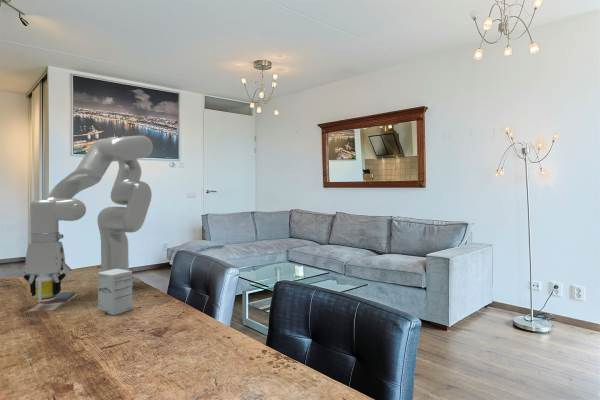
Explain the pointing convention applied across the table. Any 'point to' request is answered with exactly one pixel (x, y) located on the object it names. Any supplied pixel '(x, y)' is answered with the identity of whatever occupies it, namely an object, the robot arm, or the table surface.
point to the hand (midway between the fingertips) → (45, 293)
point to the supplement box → (115, 291)
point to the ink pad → (62, 297)
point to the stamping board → (47, 306)
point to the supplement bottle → (44, 287)
